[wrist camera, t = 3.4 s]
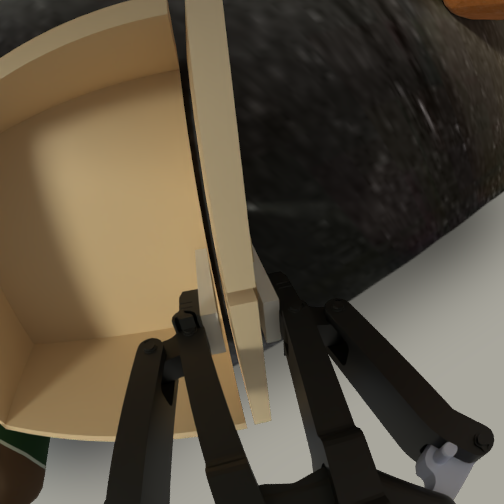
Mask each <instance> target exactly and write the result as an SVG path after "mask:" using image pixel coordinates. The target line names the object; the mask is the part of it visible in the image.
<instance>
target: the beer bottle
mask: <svg viewBox="0 0 504 504" xmlns="http://www.w3.org/2000/svg"><path fill="white" fill-rule="evenodd" d="M49 442H50V437H47V436H40V435H34V434H28V433H23V432H18V431H13V430H9V429H5V428H4V427H3V426H2V425H1V424H0V504H30V503H31V502H33V501H34V500H35V499H36V498H37V497H38V495H39V493H40V491H41V489H42V487H43V482H44V477H45V468H46V461H47V454H48V448H49Z"/></svg>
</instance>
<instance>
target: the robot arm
mask: <svg viewBox="0 0 504 504" xmlns="http://www.w3.org/2000/svg"><path fill="white" fill-rule="evenodd" d="M252 249H253V258H254V262H253V267H254V276H255V282H256V284H257V293H258V302H259V304H258V310H259V318H260V325H261V328H262V331H263V333H264V336H265V339H266V342H267V343H271V342H275V341H279V340H281V335H282V337H283V339H284V355H285V356H286V357H287V361H288V365H289V369H290V373H291V376H292V380H293V385H294V388H295V392H296V397H297V401H298V405H299V409H300V413H301V417H302V421H303V425H304V429H305V433H306V437H307V441H308V445H309V449H310V453H311V458H312V466H313V473H311V474H310V475H308V476H306V477H305V478H303V479H301V480H299V481H297V482H295V483H291V484H264V485H258V484H257V481H256V479H255V476H254V474H253V472H252V469H251V467H250V464H249V462H248V459H247V457H246V454H245V452H244V449H243V446H242V444H241V441H240V438H239V436H238V433H237V430H236V427H235V425H234V422H233V419H232V416H231V413H230V411H229V408H228V405H227V402H226V399H225V396H224V393H223V390H222V387H221V384H220V381H219V378H218V375H217V371H216V368H215V365H214V362H213V359H212V355H214V354H219V353H224V352H226V347H225V342H224V337H223V332H222V327H221V322H220V316H219V311H218V305H217V300H216V294H215V288H214V283H213V278H212V273H211V268H210V264H209V259H208V254H207V249H206V248H203V249H198V250H195V259H196V273H197V285H198V289H194V290H189V291H184V292H182V293H181V295H180V297H179V311H178V312H177V313H175V314H174V316H173V317H172V324H173V327H174V329H175V332H176V334H175V335H174V336H173V337H172V338H170V339H168V340H166V341H163V342H161V340H159V339H157V338H149V339H146V340H144V341H143V342H141V343H140V344H139V346H138V348H137V351H136V355H135V358H134V362H133V366H132V370H131V373H130V377H129V381H128V385H127V389H126V393H125V397H124V402H123V406H122V410H121V415H120V420H119V424H118V429H117V434H116V439H115V444H114V450H113V455H112V461H111V467H110V474H109V481H108V487H107V495H106V500H105V502H104V504H169V503H170V502H169V501H170V479H171V461H172V446H173V434H174V422H175V411H176V401H177V392H178V383H179V378H181V377H184V378H185V383H186V388H187V392H188V397H189V401H190V406H191V410H192V414H193V418H194V423H195V427H196V430H197V434H198V438H199V442H200V446H201V449H202V453H203V456H204V460H205V463H206V468H205V471H206V476H207V479H208V483H209V486H210V489H211V492H212V495H213V498H214V501H215V504H455V502H454V501H453V500H454V499H455V497H456V495H457V494H458V492H459V490H460V489H461V487H462V485H463V483H464V482H465V480H466V478H467V476H468V474H469V472H470V471H471V469H472V467H473V465H474V463H475V462H476V461H477V460H478V459H480V458H481V457H482V456H484V455H485V454H486V453H488V452H489V451H490V450H491V448H492V446H493V443H494V435H493V433H492V431H491V429H489V428H488V427H487V426H485V425H483V424H481V423H479V422H477V421H475V420H473V419H471V418H469V417H467V416H465V415H463V414H461V413H459V412H457V411H456V410H454V409H452V408H451V407H450V406H449V404H448V403H447V402H446V401H445V400H444V399H443V398H442V397H441V396H440V395H439V394H438V393H437V392H436V390H435V389H434V388H433V387H432V386H431V385H430V384H429V383H428V382H427V381H426V380H425V379H424V378H423V377H422V376H421V375H420V374H419V373H418V372H417V371H416V369H415V368H414V367H413V366H412V365H411V364H410V363H409V362H408V361H407V360H406V359H405V358H404V357H403V356H402V355H401V354H400V353H399V352H398V351H397V350H396V349H395V348H394V347H393V346H392V345H391V344H390V343H389V342H388V341H387V340H386V339H385V338H384V337H383V336H382V335H381V334H380V333H379V332H378V331H377V330H376V329H375V328H374V327H373V326H372V325H371V324H370V323H369V322H368V321H367V320H366V319H365V318H364V317H363V316H362V315H361V314H360V313H359V312H358V311H357V310H356V309H355V308H354V307H353V306H352V305H351V304H350V303H349V302H347V301H346V300H343V299H332V300H330V301H328V302H327V303H326V304H325V307H310V306H308V305H307V303H305V302H304V301H301V300H300V299H299V297H298V295H297V293H296V292H295V290H294V288H293V286H292V285H291V283H290V282H289V280H288V278H287V276H286V275H284V274H283V273H281V272H276V273H271V274H266V272H265V269H264V267H263V265H262V263H261V261H260V259H259V257H258V255H257V253H256V251H255V249H254V247H253V245H252ZM211 353H212V355H211ZM328 354H329V356H330V357H331V358H332V360H333V361H334V362H335V363H336V365H337V366H338V367H339V369H340V370H341V371H342V372H343V374H344V375H345V376H346V378H347V379H348V380H349V382H350V383H351V384H352V385H353V387H354V388H355V389H356V391H357V392H358V393H359V395H360V396H361V397H362V399H363V400H364V401H365V402H366V404H367V405H368V406H369V407H370V409H371V410H372V411H373V413H374V414H375V415H376V417H377V418H378V419H379V420H380V422H381V423H382V424H383V426H384V427H385V428H386V430H387V431H388V432H389V433H390V435H391V436H392V437H393V439H394V440H395V441H396V442H397V444H398V445H399V446H400V447H401V449H402V450H403V451H404V452H405V453H406V454H407V455H408V456H409V457H410V458H412V459H413V460H414V461H416V474H417V476H419V477H420V478H421V479H422V480H423V481H424V485H425V488H424V487H421V486H418V485H415V484H412V483H409V482H406V481H404V480H401V479H399V478H396V477H393V476H391V475H389V474H386V473H384V472H381V471H379V470H377V469H376V467H375V464H374V461H373V459H372V456H371V453H370V450H369V447H368V444H367V442H366V439H365V436H364V434H363V432H362V430H361V429H360V428H358V427H356V426H355V425H354V422H353V419H352V416H351V413H350V411H349V408H348V405H347V403H346V400H345V397H344V395H343V392H342V389H341V387H340V384H339V381H338V379H337V376H336V374H335V371H334V369H333V366H332V364H331V361H330V358H329V356H328Z"/></svg>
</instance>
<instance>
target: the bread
mask: <svg viewBox="0 0 504 504" xmlns="http://www.w3.org/2000/svg"><path fill="white" fill-rule="evenodd" d="M443 2H444V4H445V6H446V7H447V8H448V9H449V10H450V12H451V13H454V14H456V15H458V16H460V17H464V18H468V19H485V20H504V0H443Z"/></svg>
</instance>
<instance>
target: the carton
mask: <svg viewBox="0 0 504 504" xmlns="http://www.w3.org/2000/svg"><path fill="white" fill-rule="evenodd" d="M203 248H206V249H207V254H208V259H209V264H210V268H211V273H212V278H213V283H214V288H215V294H216V300H217V305H218V311H219V316H220V322H221V327H222V332H223V337H224V342H225V347H226V352H224V353H219V354H214V355H212V353H211V355H212V359H213V362H214V365H215V368H216V371H217V375H218V378H219V381H220V384H221V387H222V390H223V393H224V396H225V399H226V402H227V405H228V408H229V411H230V413H231V416H232V419H233V422H234V425H235V427H236V430H241V429H246V428H247V426H246V422H245V417H244V414H243V409H242V405H241V401H240V397H239V392H238V388H237V384H236V379H235V375H234V370H233V366H232V361H231V356H230V352H229V347H228V342H227V337H226V333H225V328H224V323H223V318H222V314H221V309H220V305H219V300H218V296H217V291H216V286H215V282H214V277H213V272H212V267H211V262H210V257H209V252H208V247H207V242H206V237H205V232H204V226H203V221H202V216H201V210H200V205H199V199H198V193H197V187H196V181H195V175H194V169H193V163H192V157H191V150H190V144H189V137H188V130H187V123H186V116H185V109H184V101H183V94H182V86H181V78H180V69H179V60H178V54H177V49H176V44H175V39H174V34H173V28H172V23H171V18H170V12H169V6H168V1H167V0H130V1H126V2H122V3H119V4H116V5H112V6H109V7H106V8H103V9H100V10H97V11H94V12H91V13H89V14H86V15H83V16H81V17H78V18H76V19H73V20H71V21H69V22H66V23H64V24H62V25H59V26H57V27H55V28H53V29H51V30H49V31H47V32H45V33H43V34H41V35H39V36H37V37H35V38H33V39H31V40H29V41H28V42H26V43H24V44H22V45H21V46H19V47H17V48H16V49H14V50H12V51H11V52H9V53H7V54H6V55H4V56H3V57H1V58H0V424H1V425H2V426H3V427H4V428H5V429H9V430H13V431H18V432H23V433H28V434H34V435H40V436H47V437H55V438H63V439H73V440H87V441H113V442H115V439H116V434H117V429H118V424H119V420H120V415H121V410H122V406H123V402H124V397H125V393H126V389H127V385H128V381H129V377H130V373H131V370H132V366H133V362H134V358H135V355H136V351H137V348H138V346H139V344H140V343H141V342H143V341H144V340H146V339H149V338H157V339H159V340H161V342H163V341H166V340H168V339H170V338H172V337H173V336H174V335H175V334H176V332H175V329H174V327H173V324H172V317H173V316H174V314H175V313H177V312H178V311H179V297H180V295H181V293H182V292H184V291H189V290H194V289H198V285H197V273H196V259H195V250H198V249H203ZM189 437H198V434H197V430H196V427H195V423H194V418H193V414H192V410H191V406H190V401H189V397H188V392H187V388H186V383H185V378H184V377H181V378H179V383H178V392H177V401H176V411H175V422H174V434H173V439H181V438H189Z"/></svg>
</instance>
